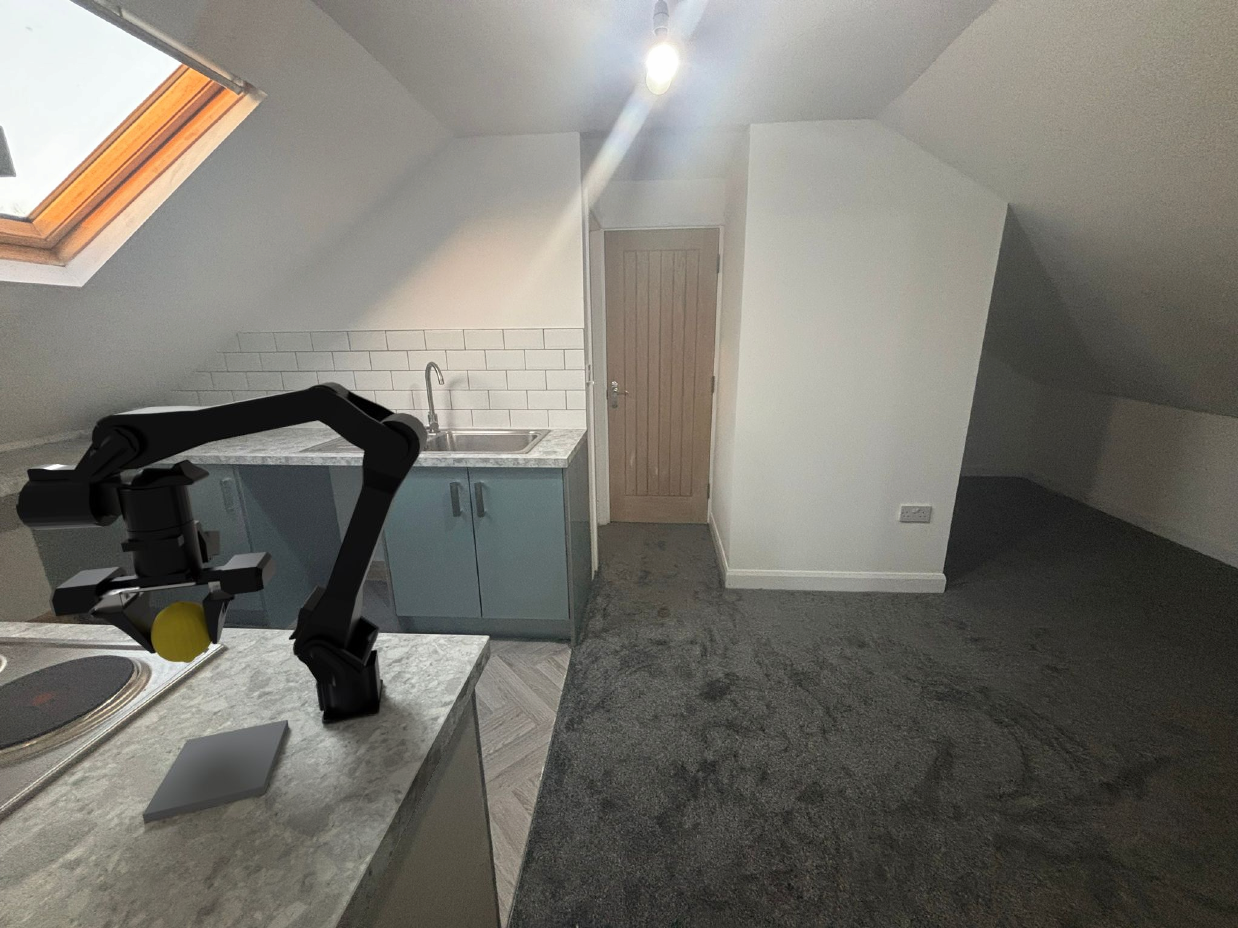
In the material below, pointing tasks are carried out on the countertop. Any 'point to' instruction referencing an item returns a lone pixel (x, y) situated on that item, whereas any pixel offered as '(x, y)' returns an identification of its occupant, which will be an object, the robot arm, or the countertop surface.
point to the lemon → (180, 632)
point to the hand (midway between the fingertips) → (186, 646)
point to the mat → (218, 770)
